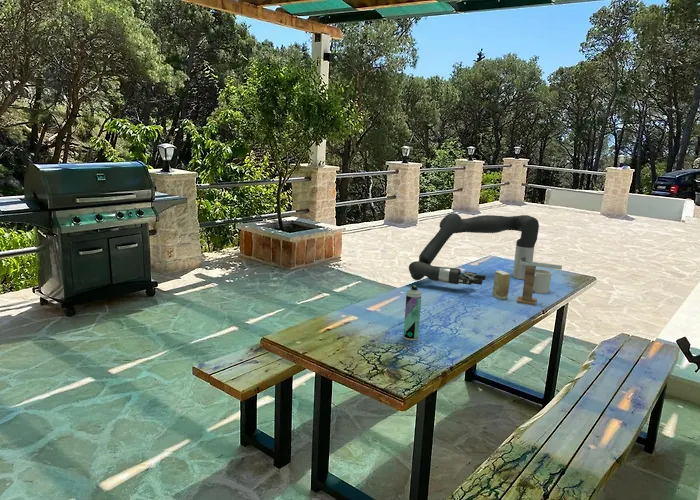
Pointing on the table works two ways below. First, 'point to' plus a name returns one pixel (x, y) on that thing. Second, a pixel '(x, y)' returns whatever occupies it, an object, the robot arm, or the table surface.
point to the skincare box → (501, 285)
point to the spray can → (412, 314)
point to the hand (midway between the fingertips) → (483, 280)
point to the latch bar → (539, 264)
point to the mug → (542, 281)
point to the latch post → (528, 287)
